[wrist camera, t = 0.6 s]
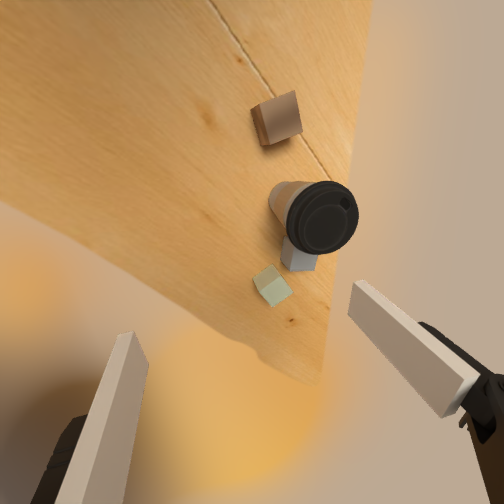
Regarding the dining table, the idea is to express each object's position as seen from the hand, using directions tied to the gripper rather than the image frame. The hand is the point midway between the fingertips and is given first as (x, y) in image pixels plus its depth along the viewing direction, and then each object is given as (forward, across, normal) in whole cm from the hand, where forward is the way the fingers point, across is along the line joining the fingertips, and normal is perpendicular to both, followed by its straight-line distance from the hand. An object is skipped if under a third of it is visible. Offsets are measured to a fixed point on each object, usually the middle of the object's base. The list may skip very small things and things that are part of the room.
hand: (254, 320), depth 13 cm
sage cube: (+27, +9, -17) cm, 33 cm away
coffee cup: (+28, +12, -1) cm, 30 cm away
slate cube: (+27, +14, -11) cm, 32 cm away
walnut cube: (+28, +10, +11) cm, 32 cm away
